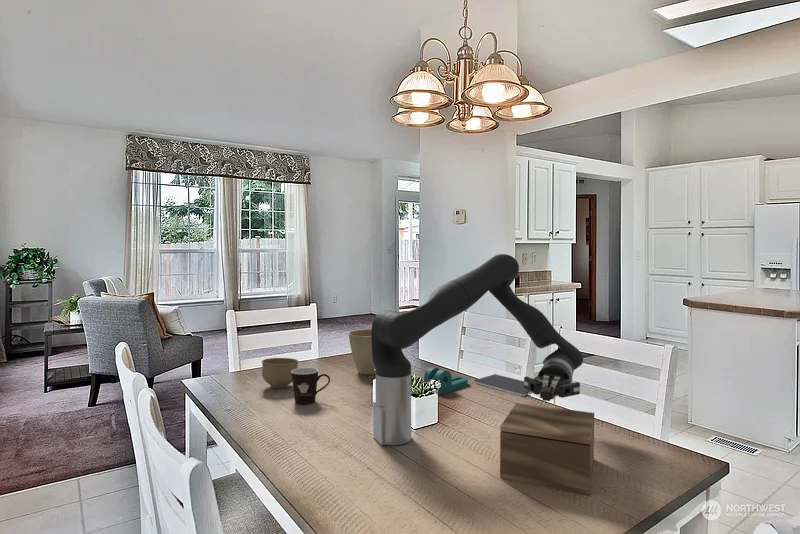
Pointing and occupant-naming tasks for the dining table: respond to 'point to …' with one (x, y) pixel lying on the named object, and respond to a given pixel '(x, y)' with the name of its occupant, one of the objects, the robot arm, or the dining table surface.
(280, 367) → the bowl
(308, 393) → the coffee mug
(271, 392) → the dining table surface
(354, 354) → the plant pot
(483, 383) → the notebook
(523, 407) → the box lid
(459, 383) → the bracket
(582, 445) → the wooden box
